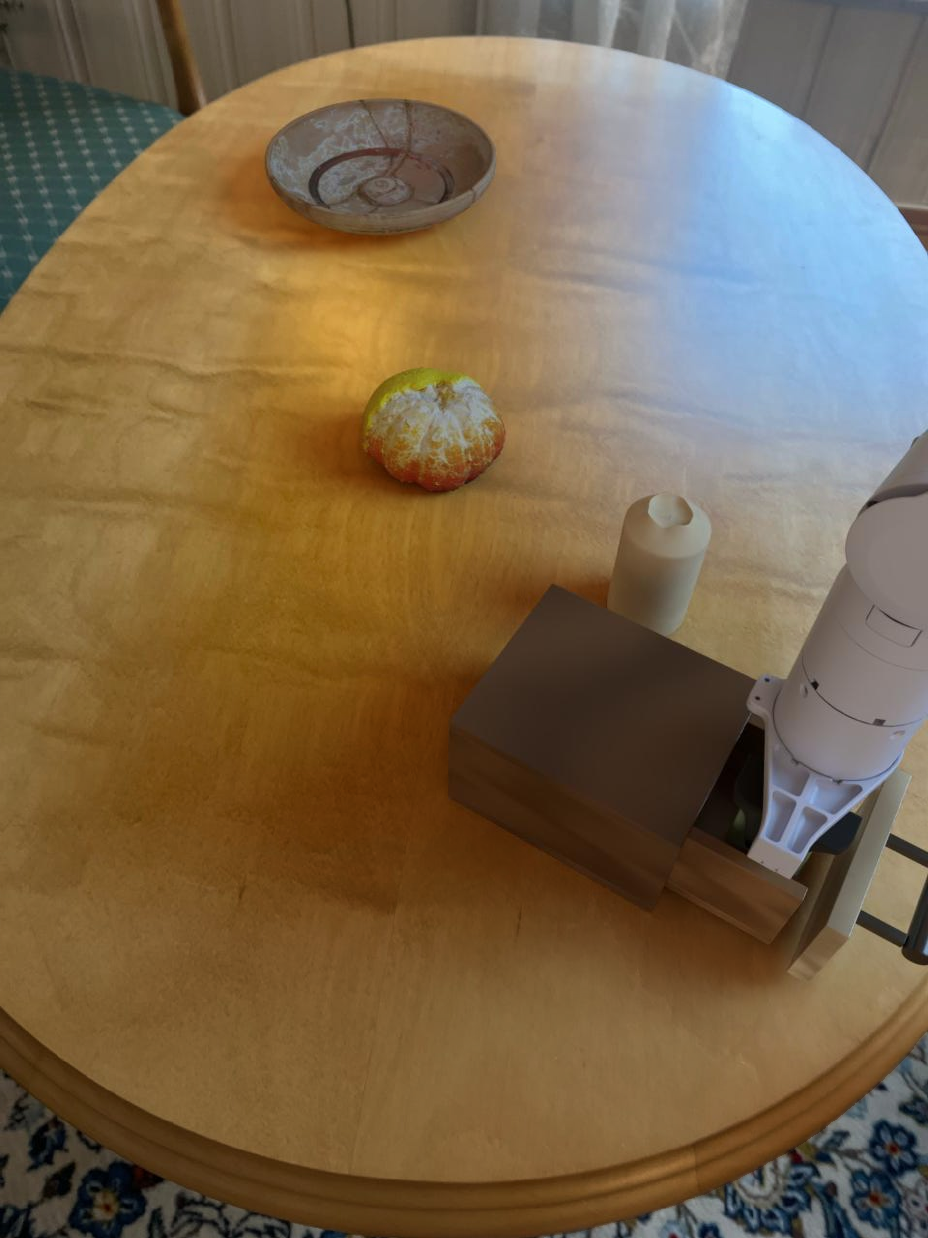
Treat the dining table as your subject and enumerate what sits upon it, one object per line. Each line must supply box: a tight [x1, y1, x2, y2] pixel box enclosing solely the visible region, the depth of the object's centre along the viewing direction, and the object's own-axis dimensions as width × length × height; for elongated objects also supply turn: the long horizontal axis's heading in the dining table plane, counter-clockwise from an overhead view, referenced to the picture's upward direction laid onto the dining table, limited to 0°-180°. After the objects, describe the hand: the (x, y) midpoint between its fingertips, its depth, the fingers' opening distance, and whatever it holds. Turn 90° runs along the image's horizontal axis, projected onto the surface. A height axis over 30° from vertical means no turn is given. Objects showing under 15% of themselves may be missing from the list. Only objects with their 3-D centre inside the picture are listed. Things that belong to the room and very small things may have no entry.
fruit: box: [360, 366, 507, 494], centre depth 75 cm, size 11×10×8 cm
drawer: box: [665, 713, 928, 984], centre depth 53 cm, size 17×10×7 cm, turn 58°
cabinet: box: [447, 583, 758, 914], centre depth 56 cm, size 14×12×9 cm
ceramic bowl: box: [264, 97, 497, 236], centre depth 99 cm, size 23×24×5 cm
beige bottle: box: [606, 491, 713, 637], centre depth 64 cm, size 6×6×10 cm
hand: (781, 816), depth 52 cm, fingers closed on block, 4 cm apart
